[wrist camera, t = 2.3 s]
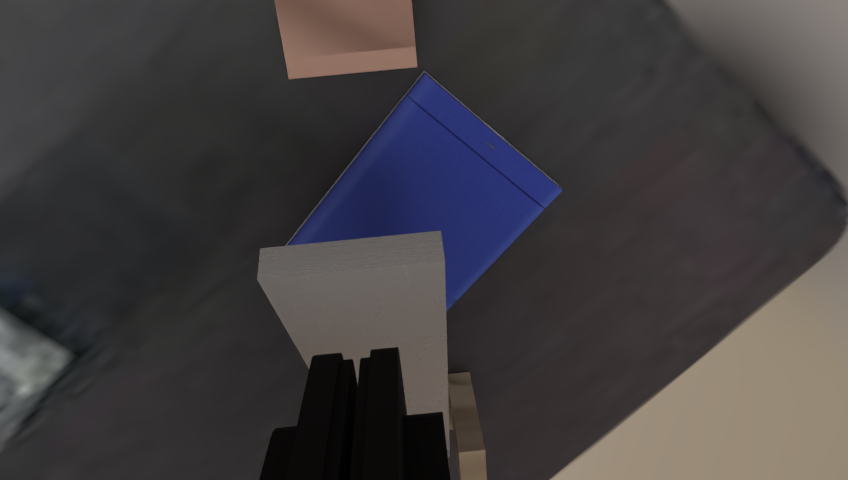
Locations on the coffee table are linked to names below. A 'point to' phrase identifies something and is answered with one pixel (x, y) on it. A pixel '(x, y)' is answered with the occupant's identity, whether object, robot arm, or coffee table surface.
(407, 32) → the block
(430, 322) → the grey long flat bar
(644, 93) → the coffee table surface
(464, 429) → the pivot bracket
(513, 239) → the hard drive
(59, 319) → the coffee table surface
